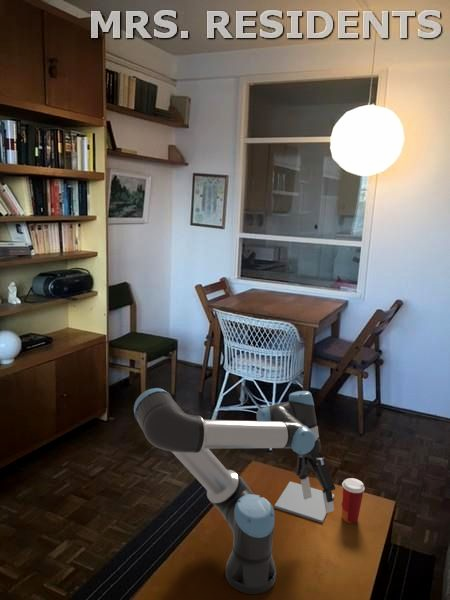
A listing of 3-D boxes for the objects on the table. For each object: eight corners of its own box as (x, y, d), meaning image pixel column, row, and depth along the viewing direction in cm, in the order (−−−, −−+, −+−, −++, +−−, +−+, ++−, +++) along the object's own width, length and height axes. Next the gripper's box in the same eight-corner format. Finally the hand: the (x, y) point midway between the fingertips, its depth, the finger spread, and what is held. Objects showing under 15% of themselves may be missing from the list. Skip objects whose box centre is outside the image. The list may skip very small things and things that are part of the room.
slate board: (322, 523, 173) (322, 520, 173) (274, 507, 180) (274, 505, 180) (334, 496, 189) (334, 494, 189) (289, 483, 196) (289, 481, 196)
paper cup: (363, 516, 178) (367, 482, 175) (356, 528, 171) (361, 492, 168) (342, 508, 182) (346, 474, 179) (335, 519, 175) (339, 484, 172)
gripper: (339, 444, 149) (351, 513, 148) (298, 430, 172) (308, 490, 171) (318, 450, 146) (330, 521, 145) (280, 435, 169) (290, 496, 169)
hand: (318, 504), depth 158 cm, fingers open, 13 cm apart
